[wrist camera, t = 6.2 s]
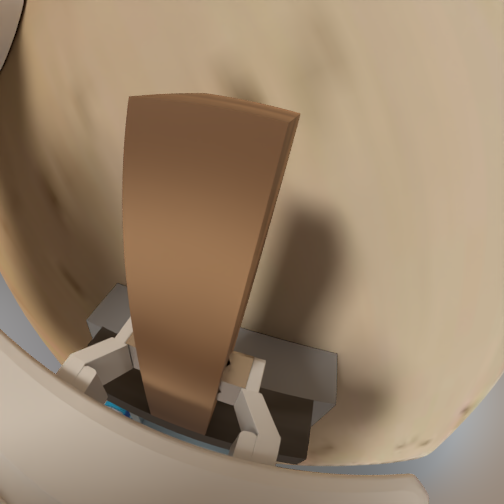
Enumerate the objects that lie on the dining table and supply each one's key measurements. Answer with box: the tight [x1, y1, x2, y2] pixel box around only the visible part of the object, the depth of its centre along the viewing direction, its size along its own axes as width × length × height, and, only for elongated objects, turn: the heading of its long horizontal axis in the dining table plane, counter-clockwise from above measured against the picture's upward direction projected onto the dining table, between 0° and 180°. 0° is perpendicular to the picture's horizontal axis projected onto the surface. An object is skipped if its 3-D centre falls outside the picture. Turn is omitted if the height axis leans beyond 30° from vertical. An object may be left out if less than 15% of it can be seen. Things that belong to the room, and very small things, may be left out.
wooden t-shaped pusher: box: [86, 93, 314, 465], centre depth 10 cm, size 16×14×4 cm
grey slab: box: [86, 283, 337, 426], centre depth 24 cm, size 20×14×5 cm
